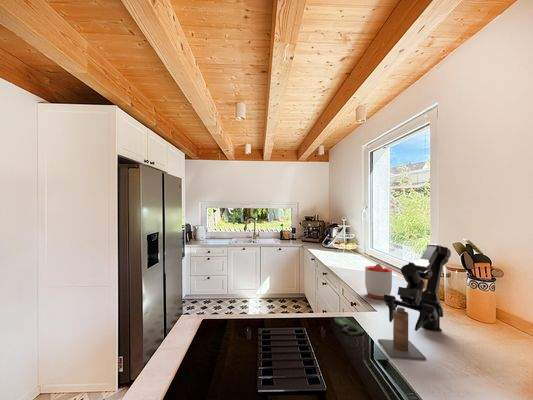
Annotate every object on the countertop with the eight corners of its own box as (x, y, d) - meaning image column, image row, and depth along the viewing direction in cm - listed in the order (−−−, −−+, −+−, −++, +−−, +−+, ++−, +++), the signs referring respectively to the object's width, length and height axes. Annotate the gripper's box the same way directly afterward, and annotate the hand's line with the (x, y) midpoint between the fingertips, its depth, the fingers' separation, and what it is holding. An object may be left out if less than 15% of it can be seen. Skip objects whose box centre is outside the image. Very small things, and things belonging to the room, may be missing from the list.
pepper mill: (400, 343, 101) (400, 305, 101) (411, 350, 96) (411, 310, 96) (390, 345, 99) (390, 306, 100) (401, 352, 94) (401, 311, 95)
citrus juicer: (394, 295, 163) (394, 262, 164) (390, 303, 148) (390, 267, 149) (368, 290, 171) (368, 259, 172) (362, 297, 157) (362, 264, 158)
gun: (327, 318, 122) (345, 316, 125) (326, 321, 122) (345, 319, 125) (347, 334, 107) (368, 331, 110) (347, 338, 107) (368, 335, 110)
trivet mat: (409, 342, 103) (409, 340, 103) (426, 360, 91) (426, 357, 91) (378, 341, 104) (378, 339, 104) (390, 358, 92) (390, 355, 92)
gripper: (384, 274, 110) (371, 306, 102) (435, 284, 95) (423, 323, 88) (393, 289, 115) (380, 321, 107) (442, 301, 100) (432, 339, 93)
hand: (402, 325), depth 99 cm, fingers open, 9 cm apart
